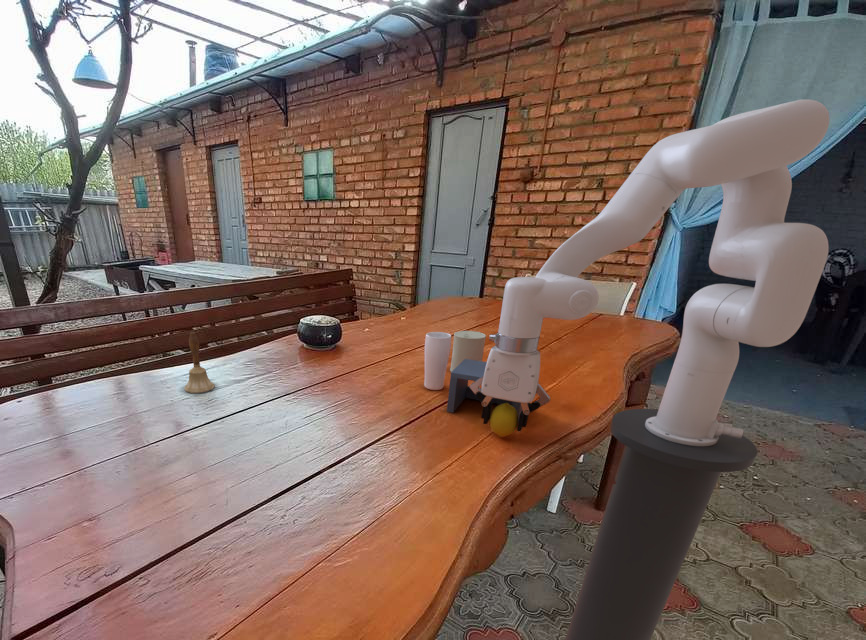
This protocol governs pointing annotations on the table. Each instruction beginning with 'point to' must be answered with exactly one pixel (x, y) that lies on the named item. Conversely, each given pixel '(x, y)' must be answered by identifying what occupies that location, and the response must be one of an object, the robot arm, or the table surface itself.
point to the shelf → (461, 389)
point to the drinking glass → (436, 359)
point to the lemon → (504, 420)
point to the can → (467, 347)
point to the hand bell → (197, 370)
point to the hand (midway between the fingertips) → (502, 424)
